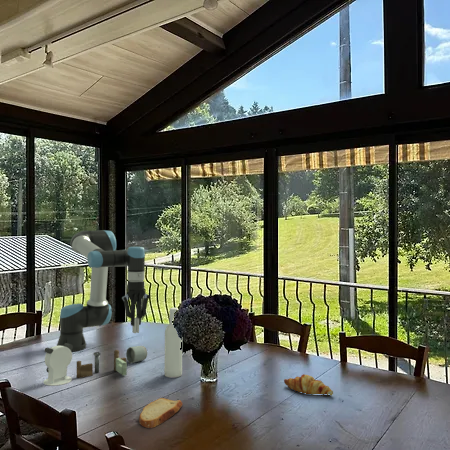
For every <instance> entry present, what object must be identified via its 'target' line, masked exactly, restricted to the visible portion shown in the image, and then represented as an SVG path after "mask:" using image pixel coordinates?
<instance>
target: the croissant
mask: <svg viewBox="0 0 450 450" xmlns="http://www.w3.org/2000/svg"><path fill="white" fill-rule="evenodd" d="M283 382H284V385H286V386H287V387H288V388H289V389H290V390H292V389H293V390H295V391H294V392H296V391H298V392H302V393H306V394H327V395H328V394H330V395H331V396H332V394H333V395H334V390H332V388H330V386H328V385H326V384H325V383H324V382H323V381H322V380H321V379H319V380H318V379H315V377H313V376H312V375H308V374H305V373H304V374H303V373H302V374H301V376H296V377H295V378H293V377H289V378H284V379H283ZM293 390H292V391H293ZM298 392H297V393H298ZM302 393H301V394H302ZM306 394H305V395H306Z"/></svg>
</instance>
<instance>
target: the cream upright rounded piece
mask: <svg viewBox="0 0 450 450" xmlns="http://www.w3.org/2000/svg"><path fill="white" fill-rule="evenodd" d="M72 349H73V346H72V345H71V344H67V343H65V344H64V346H57V345H55V346H52V347H50V348H49V347H45V348H44V353H45V356H44V364H45V366H46V368H45V369H46V373H47V374H48V375H47V378H46V379H44V380H43V384H44V385H46V386H49V387H50V386H51V387H58V386H62V385H67V384H69V383H71V382H72V381H73V379H72V377H71V376H68V373H67V372H68V366H69V365H70V364H71V363H72V360H73V352H71V350H72Z"/></svg>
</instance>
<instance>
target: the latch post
mask: <svg viewBox="0 0 450 450" xmlns="http://www.w3.org/2000/svg"><path fill="white" fill-rule="evenodd" d="M93 356H94V374H99V373H100V356H101V352H100V351H96V352H93Z"/></svg>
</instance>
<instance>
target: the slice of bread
mask: <svg viewBox="0 0 450 450" xmlns="http://www.w3.org/2000/svg"><path fill="white" fill-rule="evenodd" d="M182 406H183V401H181V399H180V400H178V399H177V400H172V399H168V398H165V397H160V398H157V399H155V400H153V401H151V402H150V403H148V404H146V405H145V406H144V407H143V408H142V412H141V413H140V414H139V418H138V422H139V425H141V426H142V427H144V428H147V429H150V428H151V429H152V428H156V427H157V426H159V425H161V424H163V423H165V422H166V421H168V420H169V419H170V418H172V417H173V416H175V415H176V414H177V413H178V412H179V411H180V409H181V408H182Z"/></svg>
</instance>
